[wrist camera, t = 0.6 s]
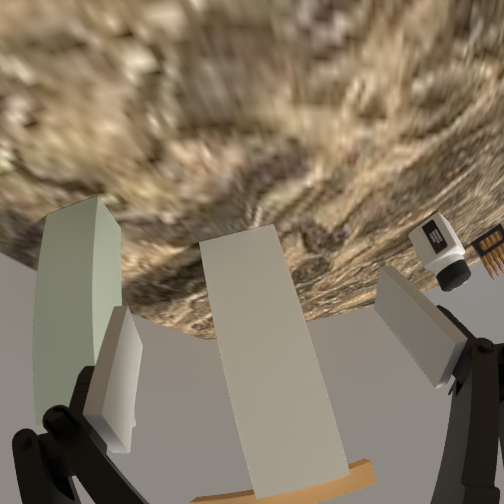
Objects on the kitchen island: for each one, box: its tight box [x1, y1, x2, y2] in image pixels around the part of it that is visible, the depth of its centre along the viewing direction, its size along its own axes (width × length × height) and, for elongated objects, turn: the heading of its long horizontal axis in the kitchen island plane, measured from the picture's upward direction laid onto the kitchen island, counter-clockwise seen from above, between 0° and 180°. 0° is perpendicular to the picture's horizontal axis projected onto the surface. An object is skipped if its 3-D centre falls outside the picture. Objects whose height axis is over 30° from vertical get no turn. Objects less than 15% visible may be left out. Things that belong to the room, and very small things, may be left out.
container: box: [408, 212, 471, 291], centre depth 50 cm, size 8×8×13 cm
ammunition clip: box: [472, 224, 504, 280], centre depth 64 cm, size 11×2×12 cm, turn 128°
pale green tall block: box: [32, 196, 136, 427], centre depth 26 cm, size 6×7×22 cm
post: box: [199, 224, 350, 499], centre depth 36 cm, size 8×10×32 cm
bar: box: [190, 459, 376, 504], centre depth 27 cm, size 3×21×3 cm, turn 95°
